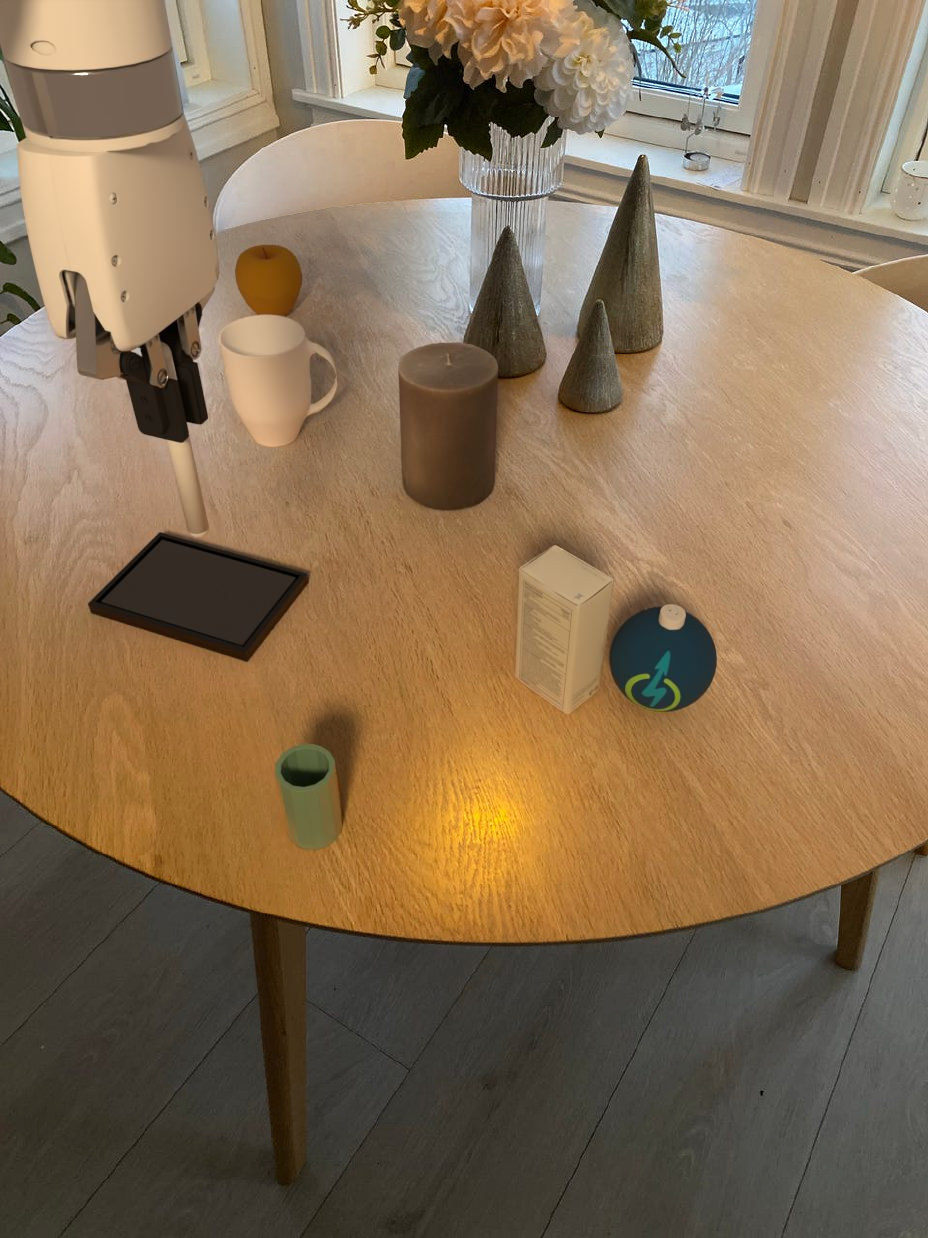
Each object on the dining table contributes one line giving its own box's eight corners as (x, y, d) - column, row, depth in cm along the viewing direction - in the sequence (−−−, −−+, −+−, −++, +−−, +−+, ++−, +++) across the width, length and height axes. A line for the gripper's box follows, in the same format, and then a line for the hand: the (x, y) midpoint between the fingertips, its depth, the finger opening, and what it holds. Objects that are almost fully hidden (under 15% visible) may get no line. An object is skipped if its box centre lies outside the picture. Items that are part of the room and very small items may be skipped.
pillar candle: (485, 517, 96) (490, 383, 86) (391, 504, 98) (384, 371, 87) (501, 463, 103) (508, 333, 93) (413, 451, 105) (410, 323, 94)
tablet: (90, 613, 85) (87, 603, 85) (162, 541, 93) (159, 531, 92) (247, 662, 81) (245, 652, 80) (308, 582, 89) (307, 573, 88)
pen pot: (276, 840, 69) (263, 780, 64) (303, 796, 71) (293, 736, 67) (326, 858, 68) (317, 799, 63) (351, 813, 70) (345, 753, 66)
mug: (234, 459, 103) (216, 357, 95) (236, 415, 109) (219, 316, 101) (343, 451, 104) (335, 350, 96) (339, 408, 111) (330, 310, 102)
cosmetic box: (601, 690, 80) (619, 580, 71) (565, 718, 77) (580, 608, 69) (545, 651, 83) (556, 541, 74) (509, 677, 81) (516, 567, 72)
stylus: (185, 539, 64) (138, 345, 54) (196, 527, 65) (152, 334, 55) (203, 544, 63) (159, 350, 54) (214, 531, 64) (173, 339, 55)
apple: (291, 293, 132) (283, 229, 126) (316, 318, 127) (310, 252, 121) (232, 307, 129) (221, 241, 123) (255, 333, 124) (245, 266, 118)
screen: (101, 603, 85) (100, 601, 85) (162, 541, 92) (162, 539, 91) (242, 647, 82) (242, 644, 81) (296, 579, 88) (295, 577, 88)
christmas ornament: (583, 696, 79) (596, 607, 72) (641, 643, 84) (658, 555, 77) (669, 750, 75) (692, 662, 68) (725, 691, 80) (751, 603, 73)
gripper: (127, 47, 52) (190, 357, 64) (-85, 132, 41) (40, 484, 54) (250, 62, 50) (289, 378, 63) (62, 155, 39) (155, 514, 52)
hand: (174, 425), depth 58 cm, fingers closed on stylus, 1 cm apart
